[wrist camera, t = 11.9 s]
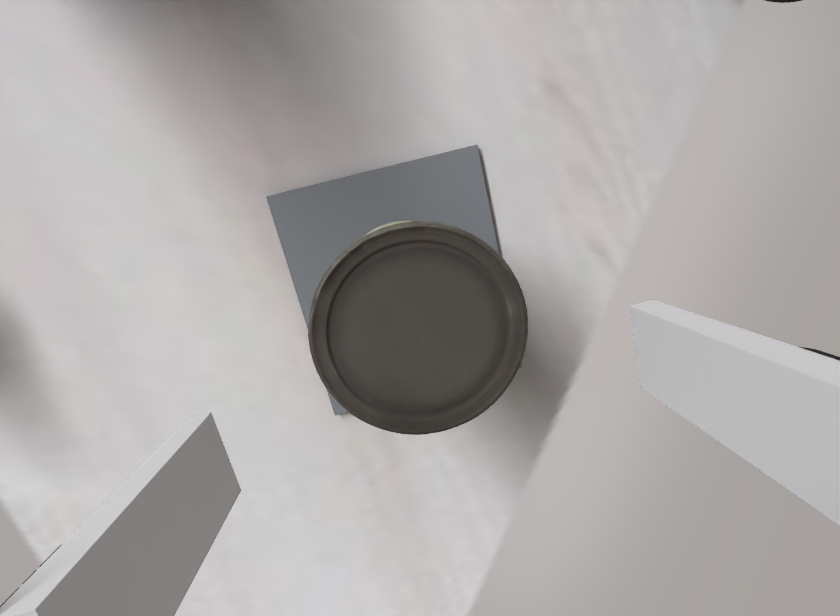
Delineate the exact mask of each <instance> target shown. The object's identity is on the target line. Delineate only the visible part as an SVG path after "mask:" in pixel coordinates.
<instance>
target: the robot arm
mask: <svg viewBox="0 0 840 616" xmlns="http://www.w3.org/2000/svg"><path fill="white" fill-rule="evenodd" d="M766 1H771V2H796V1H801V0H766ZM630 313H631V320H632V328H633V335H634V343H635V351H636V358H637V365H638V373H639V381H640V387H641V388H642V389H644V390H645V391H647V392H648V393H649V394H651V395H652V396H654V397H655V398H657V399H658V400H660V401H661V402H662V403H664V404H665V405H667V406H668V407H670V408H671V409H673V410H674V411H675V412H677V413H678V414H680V415H681V416H683V417H684V418H686V419H687V420H688V421H690V422H691V423H693V424H694V425H696V426H697V427H699V428H700V429H701V430H703V431H704V432H706V433H707V434H709V435H710V436H712V437H713V438H715V439H716V440H717V441H719V442H721V443H722V444H723V445H725V446H726V447H728V448H729V449H730V450H732V451H733V452H735V453H736V454H738V455H739V456H741V457H742V458H743V459H745V460H746V461H748V462H749V463H750V464H752V465H753V466H755V467H756V468H758V469H759V470H761V471H762V472H764V473H765V474H766V475H768V476H769V477H771V478H772V479H774V480H775V481H776V482H778V483H780V484H781V485H782V486H784V487H785V488H787V489H788V490H789V491H791V492H792V493H794V494H796V495H797V496H798V497H800V498H801V499H803V500H804V501H806V502H807V503H808V504H810V505H811V506H813V507H814V508H815V509H817V510H818V511H820V512H821V513H823V514H824V515H826V516H827V517H828V518H830V519H831V520H833V521H834V522H836V523H837V524H839V525H840V357H837V356H834V355H831V354H828V353H825V352H822V351H819V350H816V349H809V348H803V347H796V346H793V345H790V344H787V343H784V342H781V341H778V340H775V339H772V338H769V337H766V336H762V335H760V334H757V333H754V332H750V331H747V330H744V329H741V328H738V327H735V326H732V325H729V324H726V323H723V322H720V321H717V320H714V319H711V318H708V317H705V316H702V315H698V314H695V313H692V312H689V311H686V310H683V309H680V308H677V307H674V306H671V305H668V304H665V303H662V302H659V301H656V300H651V301H647V302H643V303H639V304H635V305H631V306H630ZM240 491H241V489H240V486H239V483H238V481H237V478H236V476H235V473H234V471H233V468H232V465H231V463H230V460H229V458H228V455H227V452H226V450H225V447H224V445H223V442H222V439H221V437H220V434H219V432H218V429H217V427H216V424H215V421H214V419H213V416H212V414H211V413H207V414H203V415H199V416H195V417H191V418H187V419H185V420H184V422H183V423H182V424H181V425H180V426H179V427H178V428H177V429H176V430H175V431H174V432H173V433H172V434H171V435H170V436H169V437H168V438H167V439H166V440H165V441H164V442H163V443H162V444H161V445H160V446H159V447H158V448H157V449H156V450H155V451H154V452H153V453H152V454H151V455H150V456H149V457H148V458H147V459H146V460H145V461H144V462H143V463H142V464H141V465H140V466H139V467H138V468H137V469H136V470H135V471H134V472H133V473H132V474H131V475H130V476H129V477H128V478H127V479H126V480H125V481H124V482H123V483H122V484H121V485H120V486H119V487H118V488H117V489H116V490H115V491H114V492H113V494H112V495H111V496H110V497H109V498H108V499H107V500H106V501H105V502H104V503H103V504H102V505H101V506H100V507H99V508H98V509H97V510H96V511H95V512H94V513H93V514H92V515H91V516H90V517H89V518H88V519H87V520H86V521H85V522H84V523H83V524H82V525H81V526H80V527H79V528H78V529H77V530H76V531H75V532H74V533H73V534H72V535H71V536H70V537H69V538H68V539H67V540H66V541H65V542H64V543H63V544H62V545H60V546H59V547H58V548H57V549H56V550H55V551H54V552H53V553H52V554H51V555H50V556H49V557H48V558H47V559H46V560H45V561H44V562H43V563H42V564H41V565H40V568H39V569H38V570H36V571H34V572H33V574H32V575H31V576H30V577H29V578H28V579H27V580H26V581H25V582H24V583H23V585H22V586H21V587H20V588H18V589H17V590H16V591H15V592H14V593H13V594H12V595H11V596H10V597H9V598H8V599H7V600H6V601H5V602H4V603H3V604H2V605H1V606H0V616H174V615H175V613H176V611H177V609H178V607H179V606H180V604H181V602H182V600H183V598H184V596H185V594H186V592H187V591H188V589H189V587H190V585H191V583H192V581H193V579H194V577H195V576H196V574H197V572H198V570H199V568H200V566H201V564H202V562H203V561H204V559H205V557H206V555H207V553H208V551H209V549H210V547H211V546H212V544H213V542H214V540H215V538H216V536H217V534H218V532H219V531H220V529H221V527H222V525H223V523H224V521H225V519H226V517H227V516H228V514H229V512H230V510H231V508H232V506H233V504H234V503H235V501H236V499H237V497H238V495H239V493H240Z"/></svg>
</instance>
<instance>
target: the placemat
mask: <svg viewBox="0 0 840 616" xmlns="http://www.w3.org/2000/svg"><path fill="white" fill-rule="evenodd" d="M267 200H268V204H269V207H270V210H271V213H272V216H273V220H274V223H275V226H276V229H277V232H278V235H279V239H280V242H281V245H282V248H283V251H284V255H285V258H286V261H287V264H288V267H289V271H290V274H291V277H292V280H293V283H294V286H295V290H296V293H297V296H298V299H299V302H300V306H301V309H302V312H303V315H304V318H305V321H306V325H307V328H308V322H309V314H310V309H311V305H312V301H313V297H314V294H315V291H316V289H317V286H318V284H319V282H320V281H321V279H322V277H323V275H324V274H325V272H326V271H327V269H328V268H329V266H330V265H331V264H332V263H333V262H334V260H335V259H336V258H337V257H338V256H339V255H340V254H341V253H342V252H343V251H344V250H345V249H346V248H348V247H349V246H350V245H351V244H353V243H354V242H355V241H357V240H358V239H360V238H361V237H363V236H364V235H366V234H367V233H369V232H370V231H372V230H373V229H375V228H377V227H379V226H381V225H384V224H387V223H390V222H396V221H427V222H438V223H443V224H447V225H452V226H455V227H458V228H460V229H462V230H465V231H467V232H469V233H471V234H473V235H475V236H476V237H478V238H480V239H481V240H483V241H484V242H486V243H487V244H488V245H489V246H490V247H492V248H493V249H494V250H495V251H496V252H497V253H498V254H499V251H498V246H497V241H496V236H495V231H494V226H493V221H492V216H491V211H490V206H489V201H488V196H487V191H486V186H485V181H484V176H483V171H482V166H481V161H480V156H479V151H478V146H477V145H474V146H470V147H466V148H462V149H458V150H454V151H450V152H446V153H442V154H437V155H433V156H429V157H425V158H421V159H417V160H413V161H409V162H405V163H401V164H397V165H393V166H389V167H385V168H381V169H377V170H373V171H368V172H364V173H360V174H356V175H352V176H348V177H344V178H340V179H336V180H332V181H328V182H324V183H320V184H316V185H312V186H308V187H303V188H299V189H295V190H291V191H287V192H283V193H279V194H275V195H271V196H267ZM520 367H522V366H521V364H520V366H519V368H520ZM327 392H328V395H329V398H330V401H331V404H332V408H333V411H334V414H335V415H338V414H342V413H346V412H348V411H347V410H346V409H345V408H343V407H342V406H341V405H340V404H339V403H338V402H337V401H336V400H335V398H334V397H333V396H332V395H331V394H330V392H329V391H328V390H327Z"/></svg>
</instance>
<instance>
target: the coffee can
mask: <svg viewBox="0 0 840 616" xmlns="http://www.w3.org/2000/svg"><path fill="white" fill-rule="evenodd" d="M527 333H528V318H527V308H526V304H525V300H524V296H523V293H522V290H521V288H520V285H519V283H518V281H517V279H516V277H515V275H514V274H513V272H512V270H511V268H510V267H509V266H508V264H507V263H506V262H505V260H504V259H503V258H502V257H501V256H500V255H499V254H498V253H497V252H496V251H495V250H494V249H493V248H492V247H490V246H489V245H488V244H487V243H486V242H484V241H483V240H481V239H480V238H478V237H476V236H475V235H473V234H471V233H469V232H467V231H465V230H462V229H460V228H458V227H455V226H452V225H447V224H443V223H438V222H427V221H396V222H390V223H387V224H384V225H381V226H379V227H377V228H375V229H373V230H372V231H370V232H369V233H367V234H366V235H364V236H363V237H361V238H360V239H358V240H357V241H355V242H354V243H353V244H351V245H350V246H349V247H348V248H346V249H345V250H344V251H343V252H342V253H341V254H340V255H339V256H338V257H337V258H336V259H335V260H334V262H333V263H332V264H331V265H330V266H329V268H328V269H327V271H326V272H325V274H324V275H323V277H322V279H321V281H320V282H319V284H318V286H317V289H316V291H315V294H314V297H313V301H312V305H311V309H310V314H309V322H308V337H309V345H310V351H311V355H312V358H313V362H314V365H315V367H316V370H317V372H318V374H319V376H320V378H321V380H322V382H323V384H324V385H325V387H326V388H327V390H328V391H329V392H330V394H331V395H332V396H333V397H334V398H335V400H336V401H337V402H338V403H339V404H340V405H341V406H342V407H343V408H345V409H346V410H347V411H348V412H349V413H351V414H352V415H354V416H355V417H357V418H359V419H360V420H362V421H364V422H366V423H368V424H370V425H372V426H375V427H378V428H380V429H383V430H387V431H391V432H395V433H401V434H413V435H419V434H429V433H436V432H441V431H444V430H448V429H451V428H454V427H457V426H459V425H461V424H464V423H466V422H468V421H470V420H472V419H474V418H476V417H477V416H479V415H480V414H481V413H483V412H484V411H486V410H487V409H488V408H489V407H490V406H491V405H493V404H494V403H495V402H496V401H497V400H498V398H499V397H500V396H501V395H502V394H503V393H504V391H505V390H506V389H507V387H508V386H509V384H510V383H511V381H512V380H513V378H514V376H515V374H516V372H517V370H518V369H519V366H520V364H521V361H522V358H523V355H524V351H525V347H526V341H527Z"/></svg>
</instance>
